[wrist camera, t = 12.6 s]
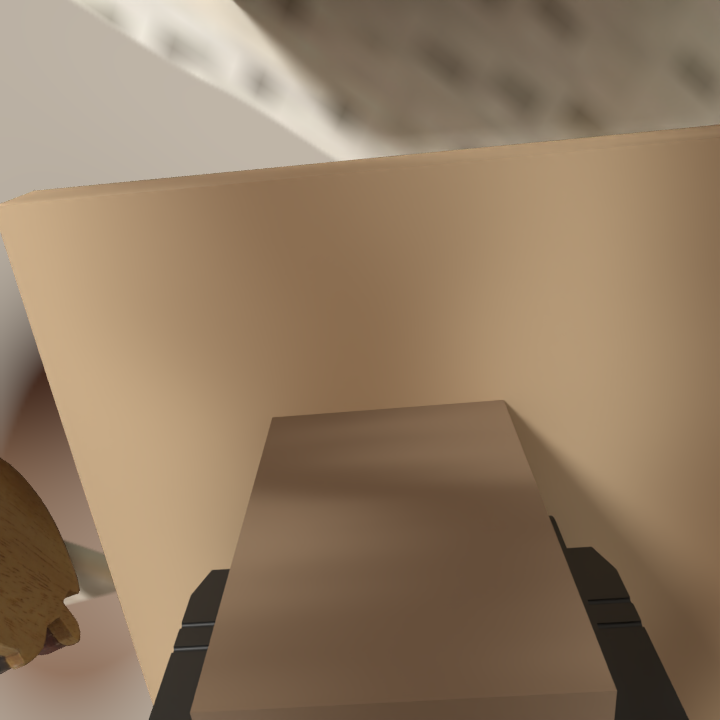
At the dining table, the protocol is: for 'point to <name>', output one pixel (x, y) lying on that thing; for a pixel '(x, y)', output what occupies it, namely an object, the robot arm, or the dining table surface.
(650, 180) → the lid
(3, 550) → the wooden carving
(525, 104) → the dining table surface
